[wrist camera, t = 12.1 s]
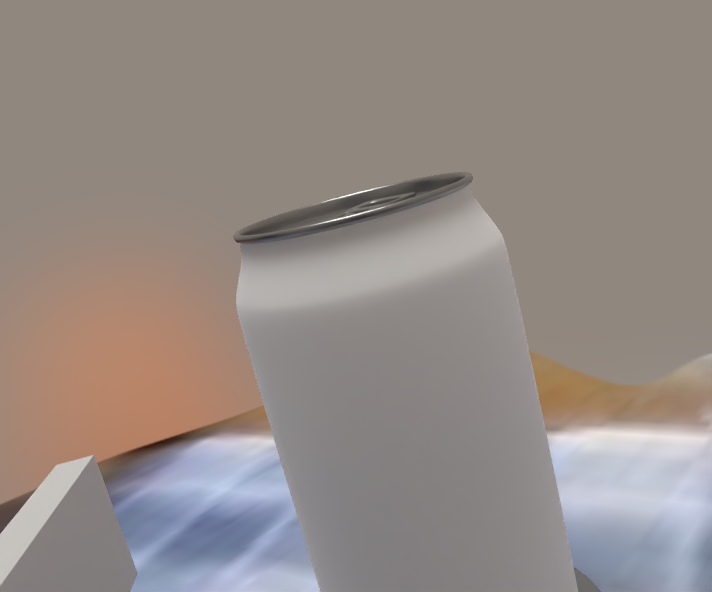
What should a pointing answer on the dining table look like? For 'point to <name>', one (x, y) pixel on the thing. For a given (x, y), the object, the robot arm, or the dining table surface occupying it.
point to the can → (403, 393)
